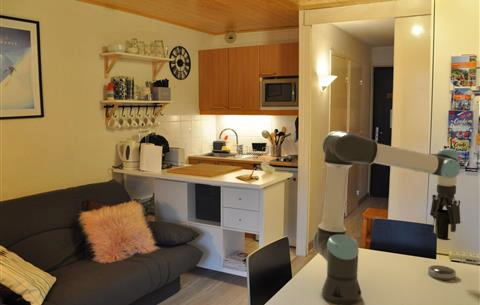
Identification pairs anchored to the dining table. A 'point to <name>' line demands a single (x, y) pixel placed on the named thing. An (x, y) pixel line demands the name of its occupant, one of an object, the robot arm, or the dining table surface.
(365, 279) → the dining table surface
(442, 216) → the cup
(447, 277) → the grey metal bowl
